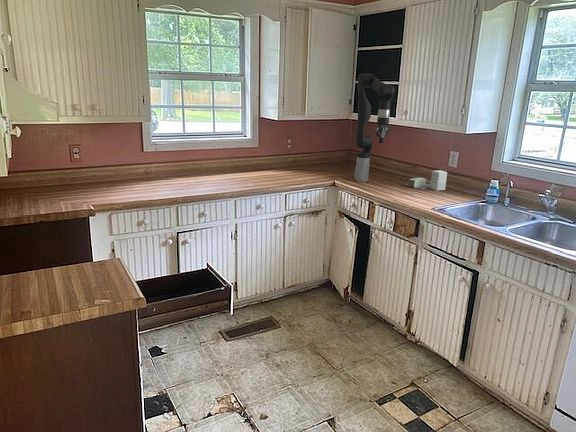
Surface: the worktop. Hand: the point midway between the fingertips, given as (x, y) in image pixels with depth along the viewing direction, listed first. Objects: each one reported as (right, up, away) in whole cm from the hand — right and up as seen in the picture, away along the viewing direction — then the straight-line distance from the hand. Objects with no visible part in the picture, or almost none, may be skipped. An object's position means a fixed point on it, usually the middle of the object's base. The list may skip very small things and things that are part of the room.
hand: (380, 143), depth 294 cm
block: (+25, -25, +16) cm, 39 cm away
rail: (+40, -25, +29) cm, 55 cm away
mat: (+33, -26, +24) cm, 48 cm away
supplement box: (+42, -30, +15) cm, 54 cm away
